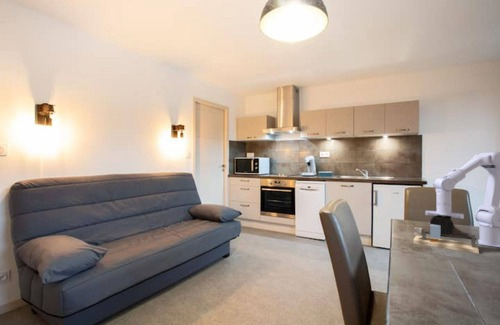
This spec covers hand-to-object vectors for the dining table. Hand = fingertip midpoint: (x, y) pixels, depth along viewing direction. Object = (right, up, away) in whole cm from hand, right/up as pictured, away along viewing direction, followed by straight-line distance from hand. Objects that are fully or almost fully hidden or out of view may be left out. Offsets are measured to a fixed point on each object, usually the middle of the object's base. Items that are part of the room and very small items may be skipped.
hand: (444, 231), depth 122 cm
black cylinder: (+19, -7, +28) cm, 35 cm away
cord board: (0, -6, 0) cm, 6 cm away
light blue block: (-3, -3, +2) cm, 5 cm away
